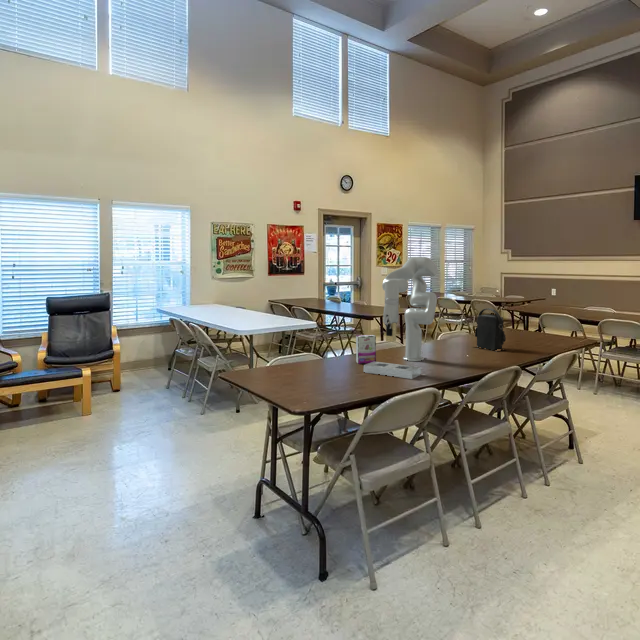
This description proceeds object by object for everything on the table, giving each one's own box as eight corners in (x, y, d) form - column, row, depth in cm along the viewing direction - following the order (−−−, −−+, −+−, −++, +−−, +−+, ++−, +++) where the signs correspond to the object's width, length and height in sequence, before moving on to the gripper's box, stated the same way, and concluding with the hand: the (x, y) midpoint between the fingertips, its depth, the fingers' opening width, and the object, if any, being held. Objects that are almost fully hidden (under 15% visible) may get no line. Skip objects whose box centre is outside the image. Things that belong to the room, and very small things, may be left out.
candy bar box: (373, 361, 284) (373, 334, 282) (376, 363, 280) (376, 335, 278) (355, 362, 282) (355, 335, 280) (357, 364, 277) (358, 336, 275)
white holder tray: (373, 368, 266) (373, 361, 265) (420, 374, 250) (421, 367, 250) (363, 372, 256) (363, 365, 255) (411, 379, 240) (412, 371, 240)
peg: (389, 340, 262) (389, 322, 261) (395, 340, 260) (396, 322, 259) (385, 341, 259) (386, 323, 258) (392, 341, 256) (392, 323, 255)
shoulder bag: (470, 347, 330) (471, 307, 327) (478, 345, 336) (480, 306, 332) (498, 352, 312) (500, 309, 309) (506, 350, 317) (508, 309, 314)
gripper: (392, 300, 266) (391, 333, 268) (378, 302, 252) (377, 336, 254) (404, 301, 261) (404, 334, 263) (390, 303, 248) (390, 337, 250)
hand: (391, 335), depth 259 cm, fingers closed on peg, 4 cm apart
